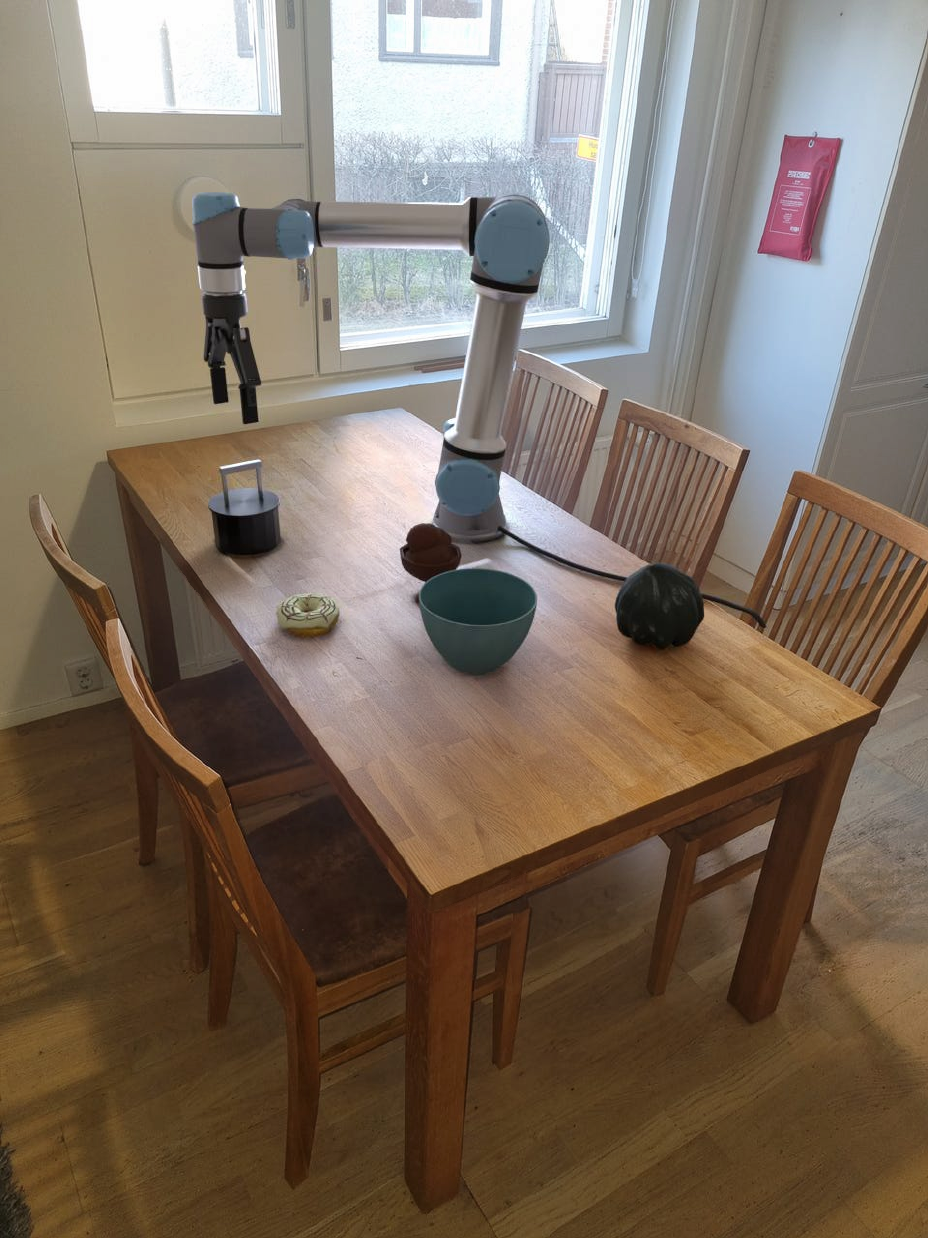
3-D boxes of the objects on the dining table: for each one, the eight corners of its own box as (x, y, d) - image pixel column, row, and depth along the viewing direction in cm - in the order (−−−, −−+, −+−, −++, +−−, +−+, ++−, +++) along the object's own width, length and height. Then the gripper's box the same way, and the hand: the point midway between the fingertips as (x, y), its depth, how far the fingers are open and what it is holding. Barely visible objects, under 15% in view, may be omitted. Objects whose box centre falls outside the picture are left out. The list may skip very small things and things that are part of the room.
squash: (718, 595, 155) (668, 530, 151) (720, 642, 143) (667, 573, 139) (648, 632, 162) (599, 571, 158) (645, 681, 150) (592, 616, 145)
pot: (291, 548, 178) (288, 508, 174) (231, 563, 172) (226, 522, 168) (264, 525, 187) (261, 487, 183) (206, 539, 181) (201, 499, 176)
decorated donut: (274, 641, 149) (272, 621, 147) (281, 608, 158) (279, 589, 156) (337, 640, 149) (336, 620, 147) (341, 607, 159) (340, 588, 157)
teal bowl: (495, 708, 134) (499, 637, 128) (396, 669, 142) (395, 601, 136) (551, 653, 148) (557, 588, 142) (457, 621, 156) (459, 557, 150)
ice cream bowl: (454, 617, 157) (456, 539, 149) (392, 609, 159) (391, 531, 151) (466, 589, 166) (468, 514, 158) (407, 582, 168) (407, 507, 160)
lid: (292, 511, 174) (289, 468, 170) (225, 527, 167) (220, 482, 163) (262, 488, 184) (258, 447, 179) (198, 502, 177) (192, 459, 172)
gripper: (274, 303, 149) (283, 428, 159) (216, 278, 166) (228, 392, 177) (231, 307, 145) (243, 435, 155) (176, 281, 162) (190, 397, 173)
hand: (235, 412), depth 166 cm, fingers open, 13 cm apart
